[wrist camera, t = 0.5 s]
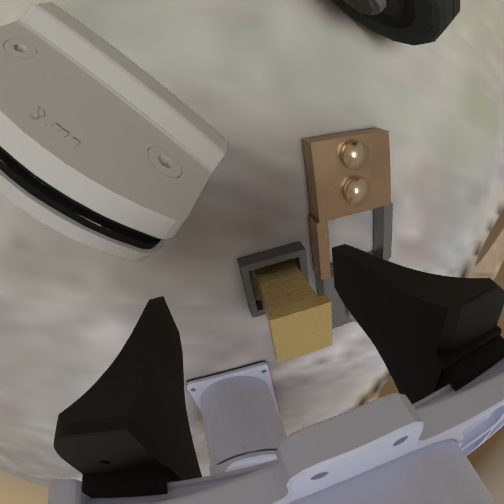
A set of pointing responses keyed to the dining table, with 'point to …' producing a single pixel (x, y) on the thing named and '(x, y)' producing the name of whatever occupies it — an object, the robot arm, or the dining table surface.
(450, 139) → the dining table surface
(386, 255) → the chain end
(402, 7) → the caster wheel
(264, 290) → the pin
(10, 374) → the dining table surface
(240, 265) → the gray square frame
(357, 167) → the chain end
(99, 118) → the off-white striped device
